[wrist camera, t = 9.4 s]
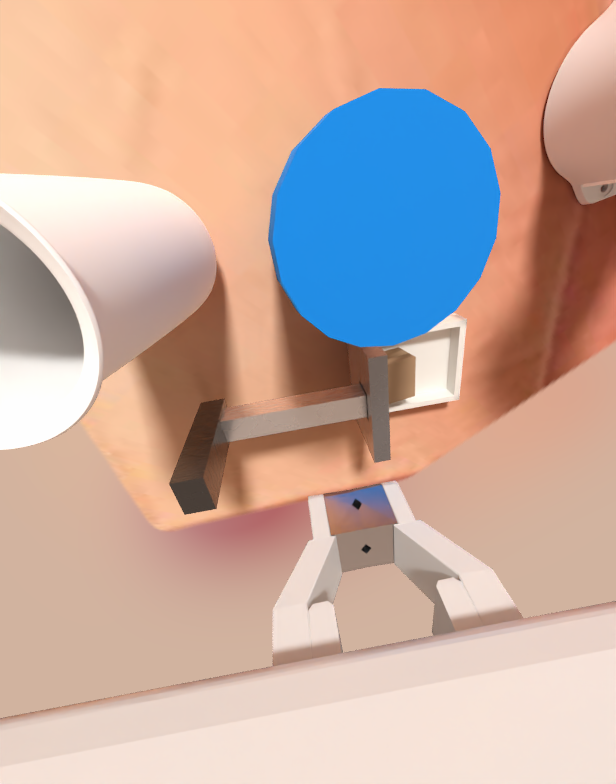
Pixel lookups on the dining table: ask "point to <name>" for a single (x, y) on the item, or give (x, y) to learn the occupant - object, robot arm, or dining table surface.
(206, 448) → the shaft
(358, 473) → the dining table surface
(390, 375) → the block
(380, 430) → the bearing wall
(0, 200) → the vase
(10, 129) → the dining table surface
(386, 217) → the thermos
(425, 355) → the tray
